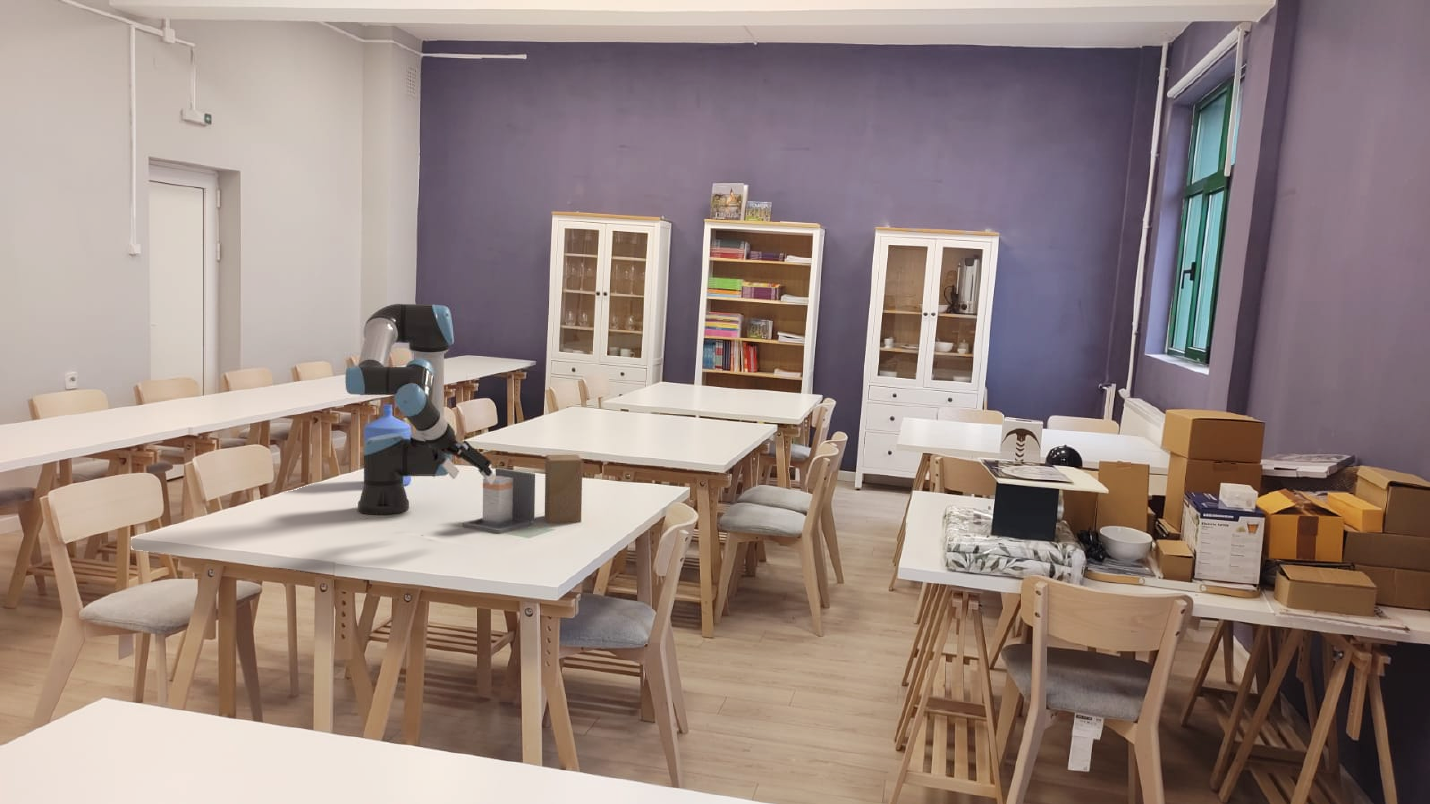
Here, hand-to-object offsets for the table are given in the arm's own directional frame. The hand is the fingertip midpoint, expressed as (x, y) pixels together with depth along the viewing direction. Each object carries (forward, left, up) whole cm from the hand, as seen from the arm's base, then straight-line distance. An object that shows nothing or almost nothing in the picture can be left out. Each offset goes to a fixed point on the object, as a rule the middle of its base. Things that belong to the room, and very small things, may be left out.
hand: (474, 477), depth 279 cm
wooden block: (+10, +28, -17) cm, 34 cm away
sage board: (+12, +10, -17) cm, 23 cm away
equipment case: (0, +10, -17) cm, 20 cm away
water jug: (-73, +37, -17) cm, 84 cm away
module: (0, +10, -16) cm, 19 cm away
